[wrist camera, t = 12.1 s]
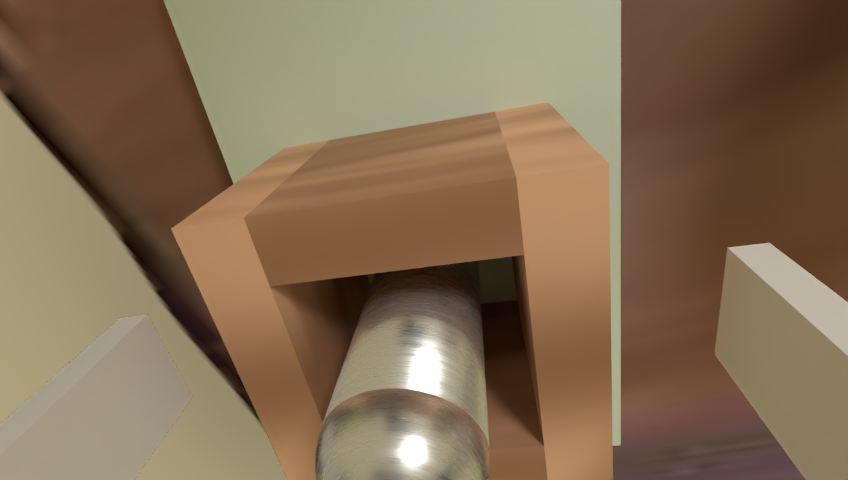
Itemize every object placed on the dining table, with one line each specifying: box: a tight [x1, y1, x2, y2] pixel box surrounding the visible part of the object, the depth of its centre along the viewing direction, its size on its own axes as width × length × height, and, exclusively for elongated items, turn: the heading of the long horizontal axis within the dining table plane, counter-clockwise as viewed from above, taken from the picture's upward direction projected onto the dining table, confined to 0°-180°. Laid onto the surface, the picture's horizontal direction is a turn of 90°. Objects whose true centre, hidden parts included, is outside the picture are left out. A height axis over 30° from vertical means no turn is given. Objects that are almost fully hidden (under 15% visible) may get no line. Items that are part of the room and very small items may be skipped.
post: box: [315, 261, 490, 480], centre depth 11 cm, size 3×3×10 cm
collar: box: [171, 102, 613, 480], centre depth 12 cm, size 8×8×6 cm
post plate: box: [164, 0, 621, 446], centre depth 16 cm, size 20×12×2 cm, turn 11°
